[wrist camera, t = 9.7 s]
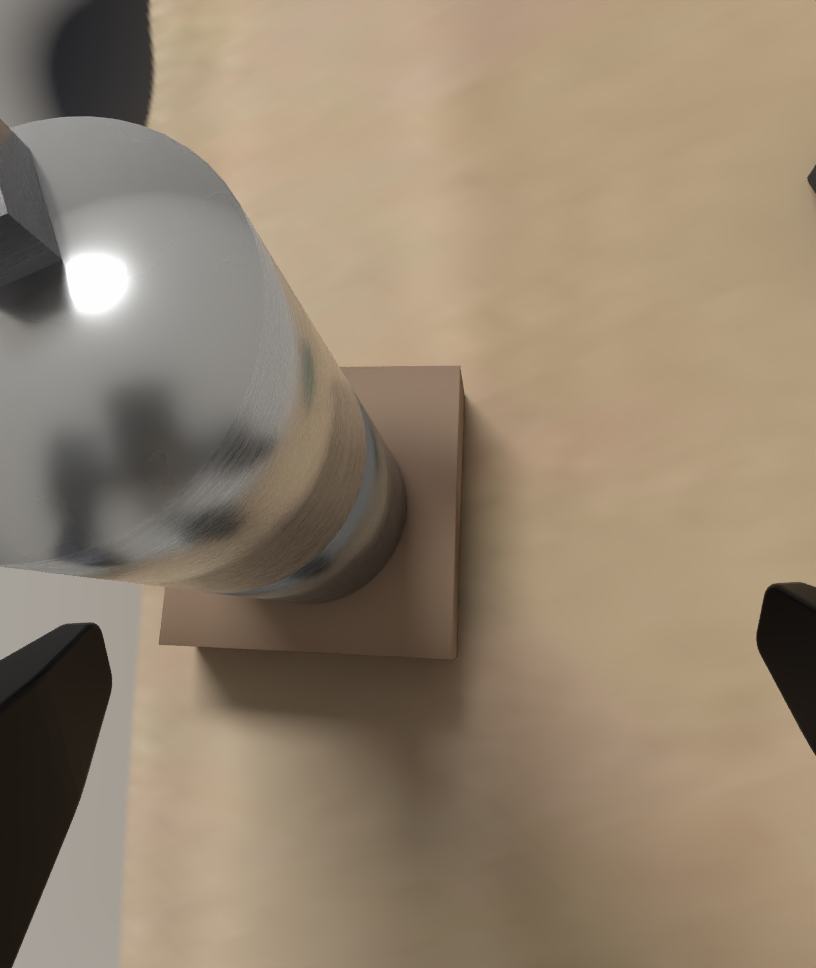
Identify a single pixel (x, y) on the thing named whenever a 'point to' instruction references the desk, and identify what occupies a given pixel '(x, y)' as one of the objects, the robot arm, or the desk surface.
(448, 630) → the stand
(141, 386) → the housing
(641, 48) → the desk surface
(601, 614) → the desk surface
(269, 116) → the desk surface
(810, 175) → the disk drive
